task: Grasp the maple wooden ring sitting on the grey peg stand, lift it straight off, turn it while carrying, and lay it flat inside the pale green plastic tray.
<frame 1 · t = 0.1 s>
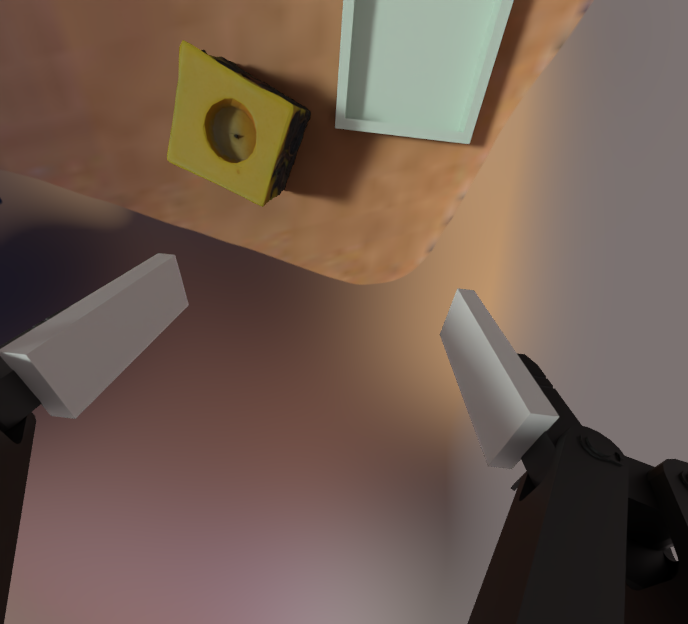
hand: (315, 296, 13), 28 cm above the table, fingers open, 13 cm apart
tray: (414, 50, 28), on the table
yellow cube with holes: (260, 133, 33), on the table
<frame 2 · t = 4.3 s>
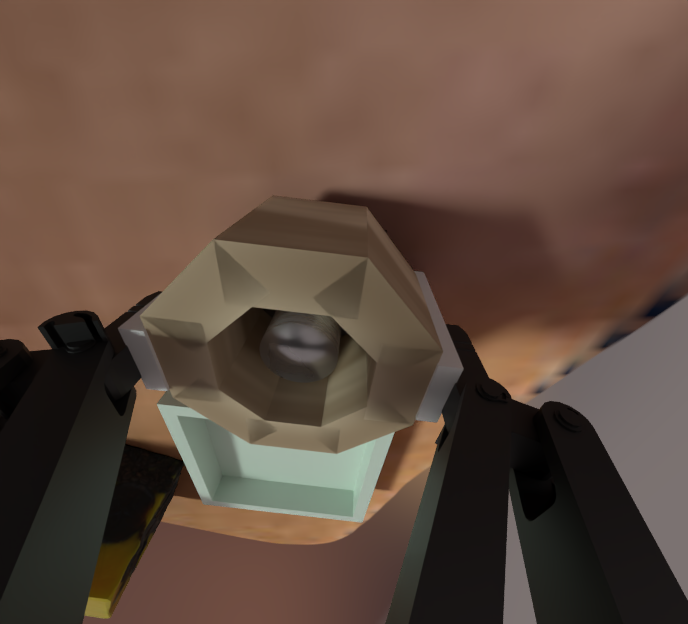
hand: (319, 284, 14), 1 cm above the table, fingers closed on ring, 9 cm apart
grey peg stand: (320, 278, 15), on the table
tray: (289, 438, 24), on the table
ring: (315, 297, 13), point 2 cm above the table, touching gripper, grey peg stand
yellow cube with holes: (133, 464, 29), on the table
when the fingers open (1 cm above the table, at t = 10.4 s): ring drops 2 cm, resting on tray.
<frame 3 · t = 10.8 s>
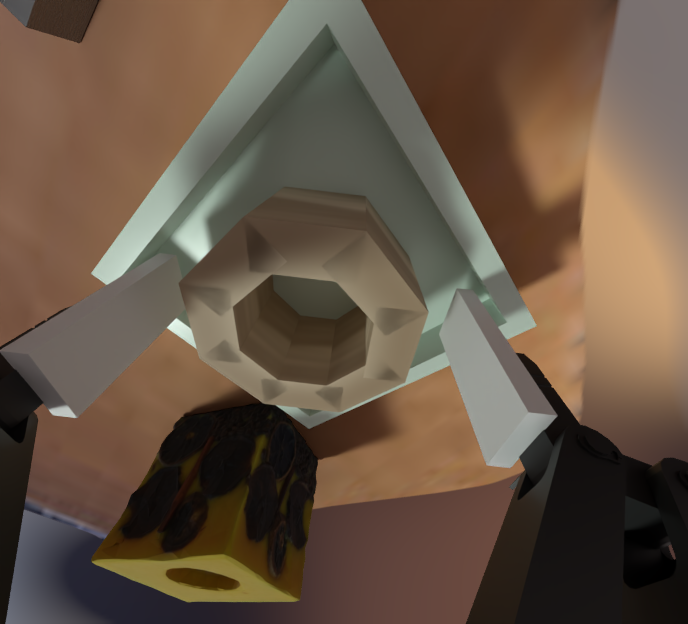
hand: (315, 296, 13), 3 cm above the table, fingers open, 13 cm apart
tray: (322, 272, 15), on the table
ring: (320, 278, 15), point 1 cm above the table, touching tray
yellow cube with holes: (254, 437, 26), on the table
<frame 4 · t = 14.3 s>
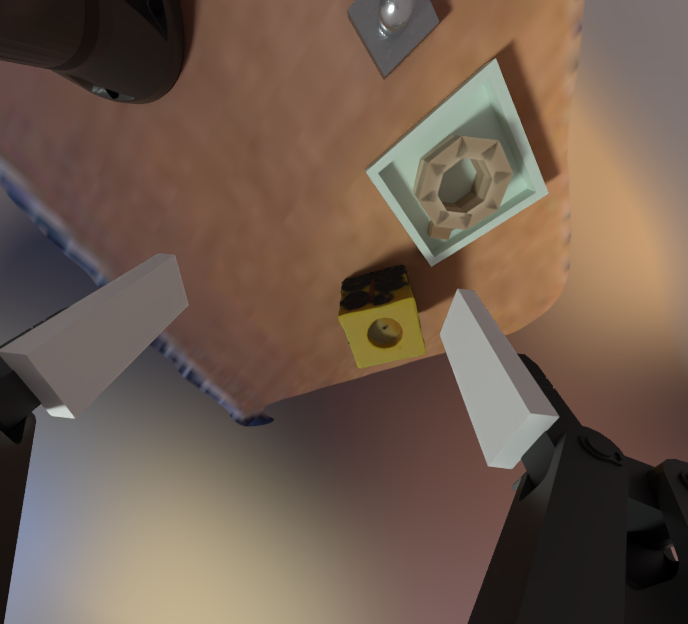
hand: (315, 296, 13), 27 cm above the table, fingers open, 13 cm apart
grey peg stand: (391, 23, 26), on the table
tray: (450, 178, 34), on the table
ring: (452, 179, 33), point 1 cm above the table, touching tray
yellow cube with holes: (379, 297, 44), on the table
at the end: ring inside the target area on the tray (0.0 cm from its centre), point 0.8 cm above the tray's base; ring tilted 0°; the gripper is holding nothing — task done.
